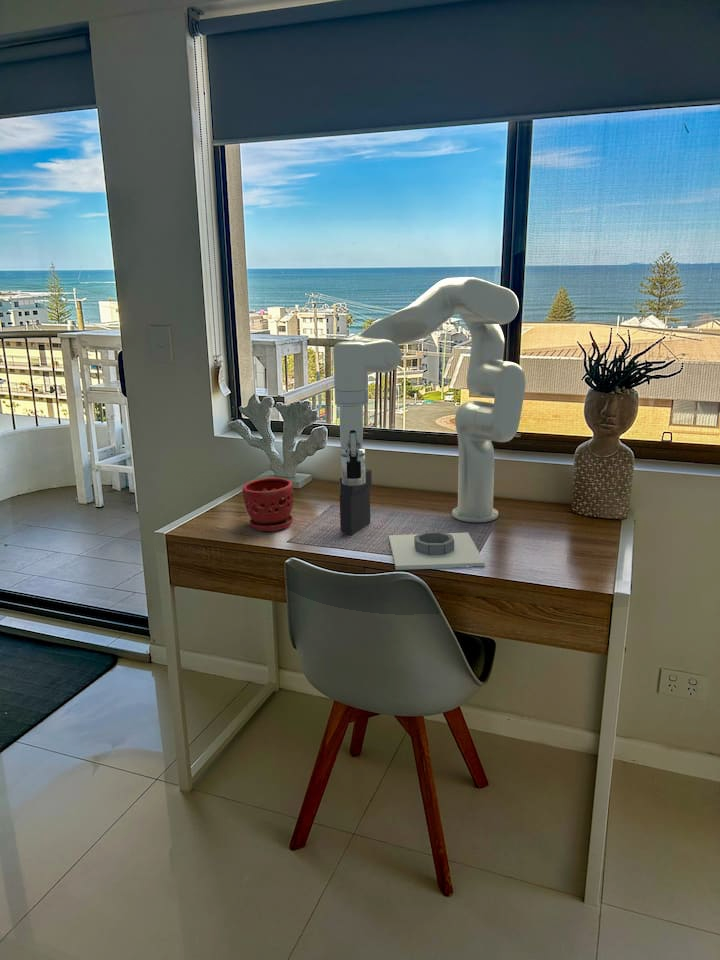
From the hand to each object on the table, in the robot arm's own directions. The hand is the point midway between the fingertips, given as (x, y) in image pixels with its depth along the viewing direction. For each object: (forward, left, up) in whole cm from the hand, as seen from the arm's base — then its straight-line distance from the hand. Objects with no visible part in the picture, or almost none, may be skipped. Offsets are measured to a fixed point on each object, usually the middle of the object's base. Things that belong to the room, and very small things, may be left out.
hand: (353, 474), depth 159 cm
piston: (0, 0, -2) cm, 2 cm away
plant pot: (-21, -22, -20) cm, 36 cm away
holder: (+2, +19, -19) cm, 27 cm away
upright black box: (-17, +1, -20) cm, 26 cm away
